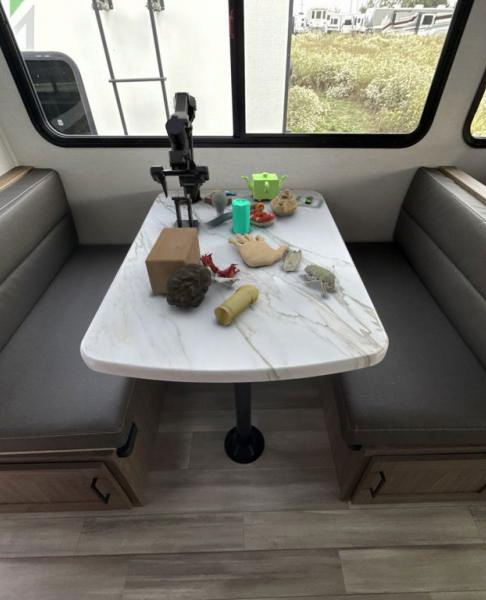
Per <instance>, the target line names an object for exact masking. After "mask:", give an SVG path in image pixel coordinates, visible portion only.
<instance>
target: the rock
mask: <svg viewBox="0 0 486 600" xmlns="http://www.w3.org/2000/svg"><path fill="white" fill-rule="evenodd" d="M212 283H213V277H212V276H211V271H210V270H209V269H208V268H207V267H206V266H203V264H195V263H190V264H188V265H185V266H183V267H182V268H180V269H179V270H178V271H176V272H175V273H172V274H171V275H170V276H169V277H168V279H167V285H166V287H167V293H166V303H167V304H168V305H169V306H173V307H175V308H176V309H178V310H179V309H182V310H183V309H184V310H187V309H192V308H194V309H195V308H198V307H200V306H201V305H202V303H203V301H204V300H205V297H206V294H207V293H208V292H209V290H210V287H211V285H212Z"/></svg>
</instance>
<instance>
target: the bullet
mask: <svg viewBox="0 0 486 600" xmlns="http://www.w3.org/2000/svg"><path fill="white" fill-rule="evenodd" d="M259 293H260V291H259V288H258V287H257V286H255V285H254V284H244V285H241V286H240V287H238V288H237V289H236V290H235V292H234V293H233V294H232V295H230V296H229V297H228V298H227V299H226V300H224V301H223V302H222V303H221V304H220V305H218V306H216V307H215V308H214V310H213V314H214V316H215V318H216V320H217V321H218V322H219V323H220V324H221V325H224V326H226V325H229V324H231V323H232V321H234V319H236V318H237V316H239V315H240V314H242V312H243V311H244V310H246V308H248V307H249V306H251V305H253V304H254V303H256V302H257V300H258V298H259Z"/></svg>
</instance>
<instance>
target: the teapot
mask: <svg viewBox="0 0 486 600" xmlns="http://www.w3.org/2000/svg"><path fill="white" fill-rule="evenodd" d="M288 177H289V175H282V176H281V178H280V180H279V178H278V175H277V173H269V172H265V171H264V172H262V173H252V174H251V180H250V178H249V177H248V176H245V175H244V176H243V175H242V176H241V178H243V179H244V180H245V181H246V185H247V187H248V189H249V190H250V191H251V193H252V198H253V200H256V201H257V202H262V200H268V201H270V202H271V201H272V200H273V199H275V198H276V197H277V196H278V195H279V190H280V189H281V188H282V187H283V184H284V181H285V179H286V178H288Z"/></svg>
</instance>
